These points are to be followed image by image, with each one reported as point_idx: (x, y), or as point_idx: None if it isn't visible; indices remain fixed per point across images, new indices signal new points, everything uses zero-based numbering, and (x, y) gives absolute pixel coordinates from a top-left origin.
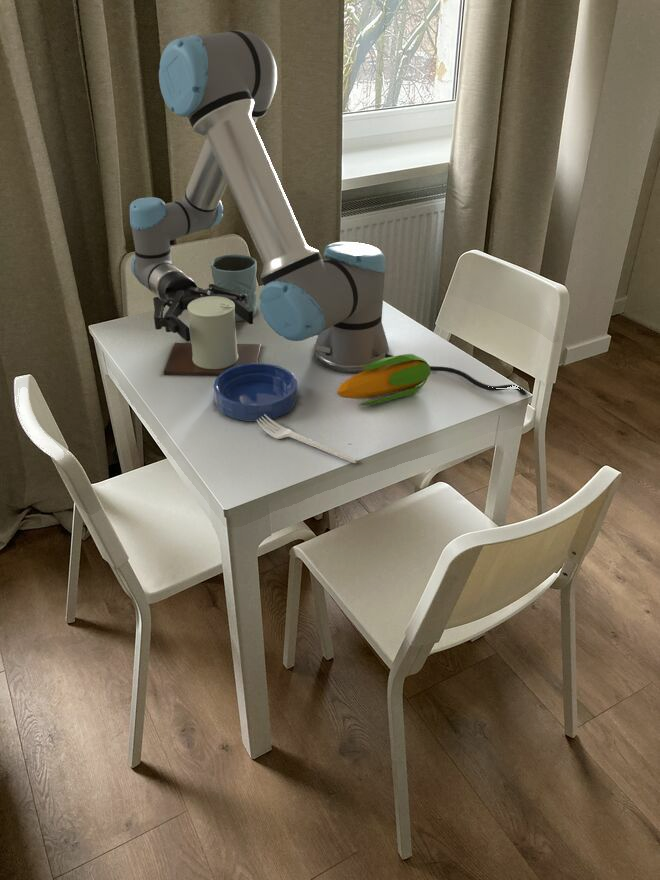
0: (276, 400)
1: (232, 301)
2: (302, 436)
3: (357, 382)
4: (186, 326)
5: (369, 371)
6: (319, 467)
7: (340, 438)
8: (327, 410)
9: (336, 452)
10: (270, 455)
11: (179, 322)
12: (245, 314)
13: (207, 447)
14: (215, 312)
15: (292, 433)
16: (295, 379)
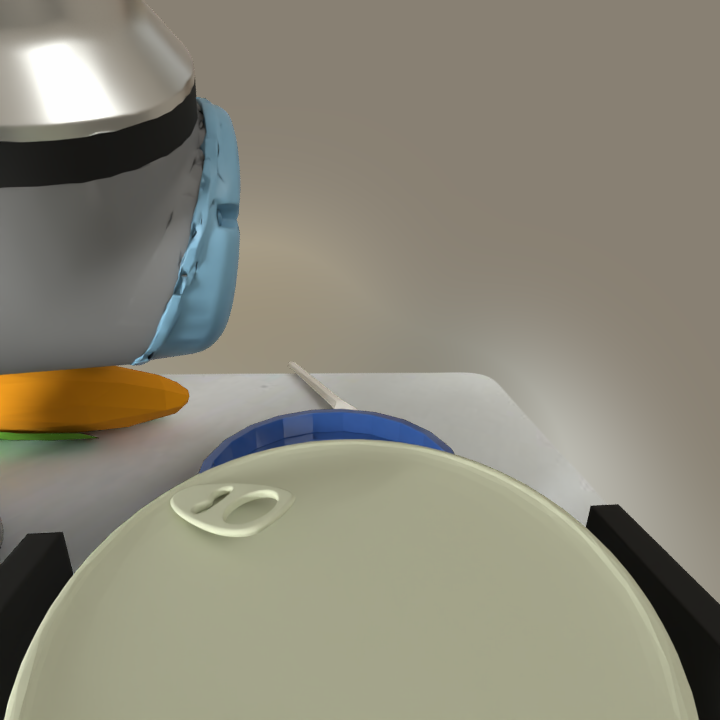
0: (326, 411)
1: (76, 573)
2: (327, 392)
3: (146, 372)
4: (618, 528)
5: (95, 367)
6: (339, 375)
7: (265, 395)
8: (215, 438)
9: (303, 370)
10: (394, 401)
11: (713, 606)
12: (33, 633)
13: (503, 438)
14: (368, 476)
15: (339, 398)
16: (221, 444)
